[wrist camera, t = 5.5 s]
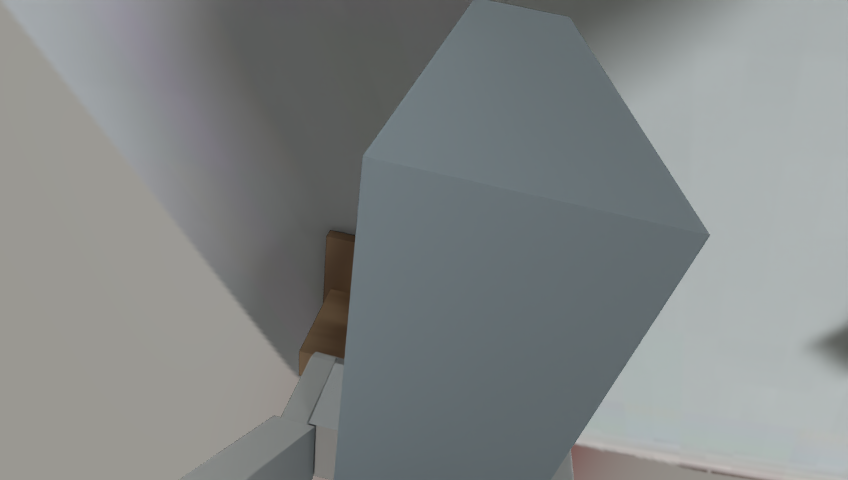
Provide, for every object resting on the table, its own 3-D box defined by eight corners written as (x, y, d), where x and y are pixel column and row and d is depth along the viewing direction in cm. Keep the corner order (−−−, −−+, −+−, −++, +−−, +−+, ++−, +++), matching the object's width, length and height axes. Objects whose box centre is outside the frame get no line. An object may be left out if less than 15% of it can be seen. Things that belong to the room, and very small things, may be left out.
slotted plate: (474, -3, 11) (361, 156, 3) (569, 17, 11) (709, 235, 3) (401, 359, 19) (316, 668, 11) (456, 373, 19) (410, 695, 11)
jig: (550, 278, 30) (561, 354, 24) (506, 384, 36) (507, 465, 30) (330, 230, 30) (291, 294, 25) (324, 343, 36) (291, 415, 31)
